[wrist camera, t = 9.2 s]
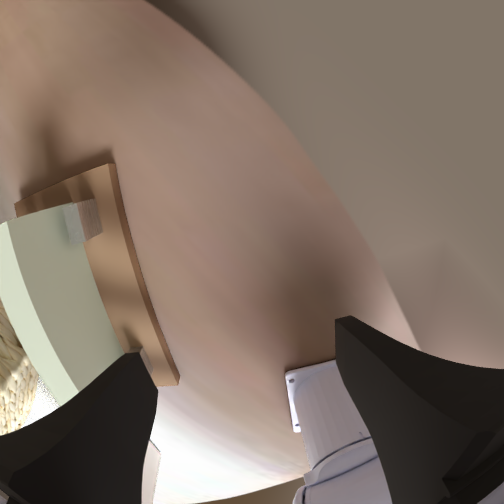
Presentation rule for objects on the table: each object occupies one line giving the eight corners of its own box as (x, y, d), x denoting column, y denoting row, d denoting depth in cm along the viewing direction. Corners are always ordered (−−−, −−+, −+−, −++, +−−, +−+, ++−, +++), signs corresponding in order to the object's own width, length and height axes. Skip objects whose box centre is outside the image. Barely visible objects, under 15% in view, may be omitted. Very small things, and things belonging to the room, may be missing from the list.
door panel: (131, 368, 20) (105, 429, 13) (103, 369, 20) (74, 424, 13) (72, 202, 16) (6, 221, 9) (44, 212, 16) (-20, 234, 9)
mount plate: (180, 376, 22) (178, 385, 21) (90, 379, 22) (86, 386, 20) (115, 163, 17) (107, 163, 15) (22, 201, 16) (14, 203, 15)
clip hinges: (153, 369, 20) (146, 389, 18) (88, 371, 20) (78, 388, 18) (95, 198, 16) (76, 202, 14) (29, 222, 16) (10, 229, 14)
